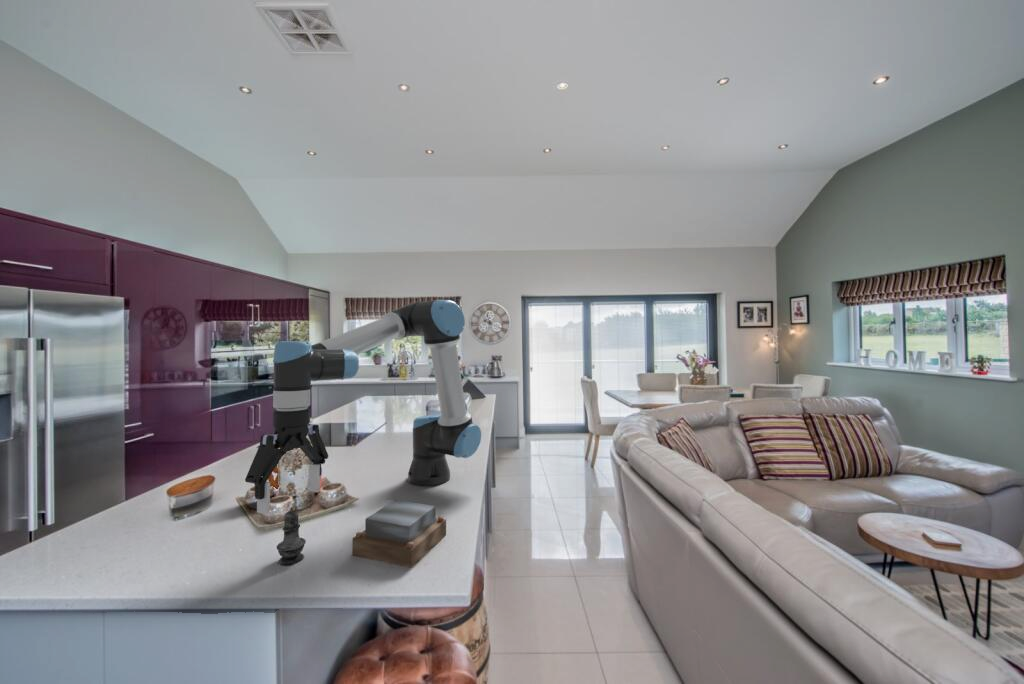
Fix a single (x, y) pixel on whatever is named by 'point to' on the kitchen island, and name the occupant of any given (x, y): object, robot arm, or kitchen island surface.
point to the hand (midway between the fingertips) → (290, 501)
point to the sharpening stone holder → (400, 533)
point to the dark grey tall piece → (291, 541)
